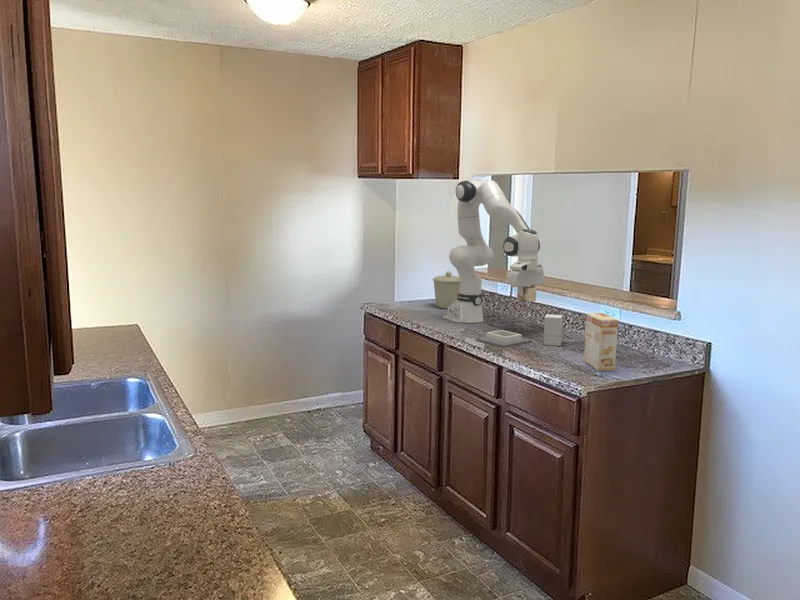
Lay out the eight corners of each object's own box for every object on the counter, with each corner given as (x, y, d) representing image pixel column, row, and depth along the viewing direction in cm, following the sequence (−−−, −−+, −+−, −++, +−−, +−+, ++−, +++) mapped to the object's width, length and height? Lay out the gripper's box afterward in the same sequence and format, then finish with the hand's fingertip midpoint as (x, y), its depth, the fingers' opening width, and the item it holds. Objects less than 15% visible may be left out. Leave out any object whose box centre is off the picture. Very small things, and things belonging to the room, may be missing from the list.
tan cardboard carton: (516, 299, 304) (517, 287, 303) (524, 298, 307) (524, 286, 306) (528, 301, 299) (529, 288, 298) (535, 300, 302) (536, 287, 301)
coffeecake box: (615, 370, 247) (619, 319, 244) (597, 371, 246) (600, 319, 243) (600, 360, 262) (603, 312, 258) (583, 361, 261) (585, 312, 258)
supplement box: (561, 342, 293) (563, 314, 291) (560, 346, 286) (561, 317, 284) (545, 341, 295) (546, 313, 293) (542, 345, 288) (544, 316, 286)
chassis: (475, 340, 296) (476, 332, 295) (503, 335, 306) (504, 328, 306) (503, 347, 282) (503, 339, 282) (531, 342, 293) (532, 334, 293)
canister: (429, 305, 388) (430, 269, 384) (460, 304, 390) (461, 269, 386) (434, 310, 370) (435, 273, 367) (466, 310, 372) (467, 273, 369)
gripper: (537, 263, 309) (536, 292, 311) (507, 266, 296) (506, 296, 299) (548, 264, 304) (546, 294, 306) (517, 267, 292) (516, 298, 294)
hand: (526, 295), depth 302 cm, fingers closed on tan cardboard carton, 5 cm apart
